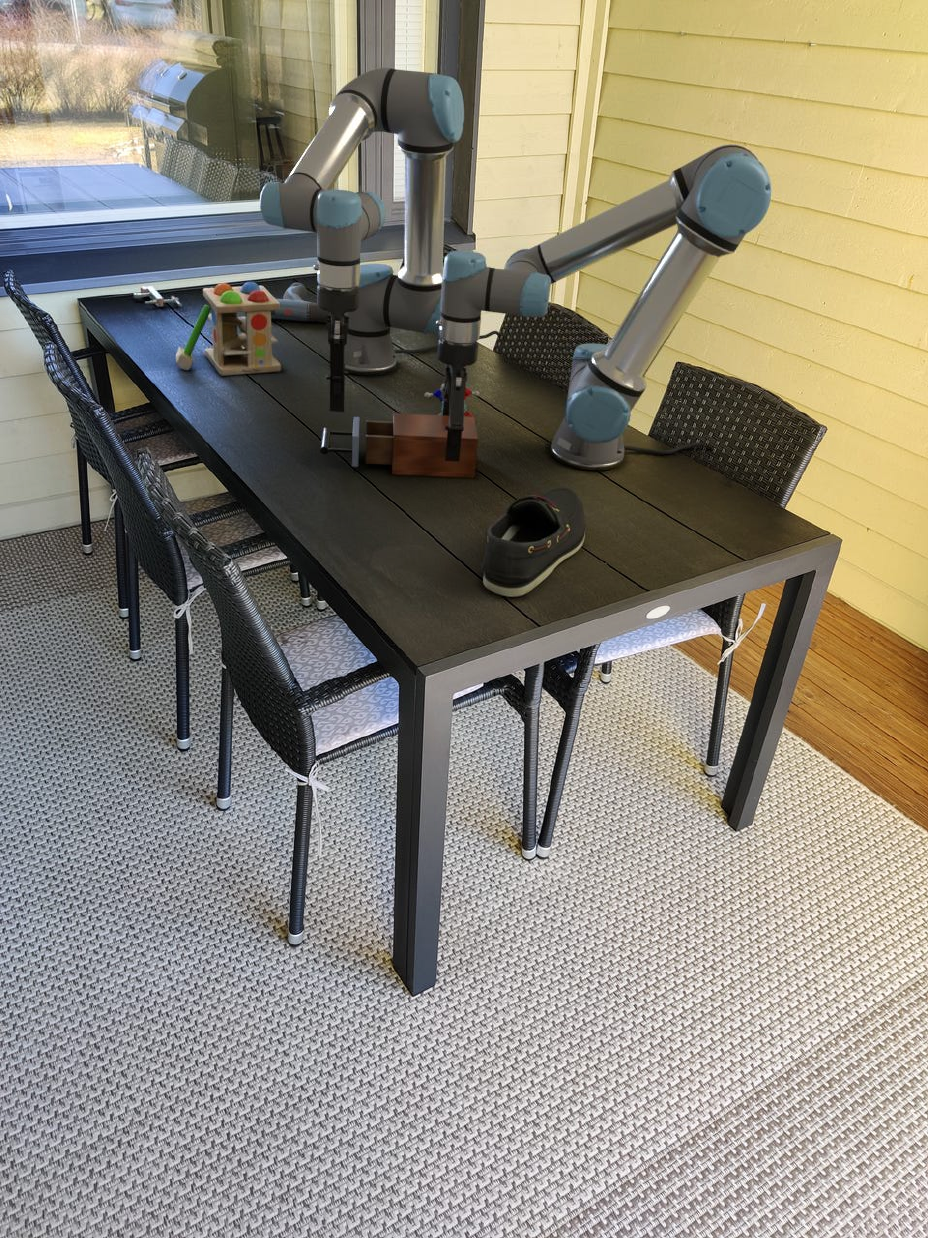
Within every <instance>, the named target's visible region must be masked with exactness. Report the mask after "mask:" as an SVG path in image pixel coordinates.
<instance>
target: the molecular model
mask: <svg viewBox="0 0 928 1238" xmlns="http://www.w3.org/2000/svg"><path fill="white" fill-rule="evenodd" d="M443 388H444V383H442V384H441V385H440V388H439V389H436V390H435V391H434V392H428V391H427V392H425V393H424V398H425V399H430V397H435V398H436V399H438V400H439V402H440V403H441V412H440V413H438V414H437V415H443V402H444V398H443V397H442V396H443V392H444V391H443ZM470 395H471V396H472V395H473V396H474V397H479V396H480V392H479V391H478V390H474V391H471V390H469V389H468V388H465V396H464V417H474V415H472V414H470V412H469V410H467V406H466V404H465V402H466V400H467V397H469V396H470Z"/></svg>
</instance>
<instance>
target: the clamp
mask: <svg viewBox="0 0 928 1238" xmlns="http://www.w3.org/2000/svg"><path fill="white" fill-rule="evenodd" d="M133 297H134V299H143V298H149V299H150V300H149V301H144V304H145V305H147V304H149V305H154V304H155V305H156V307H164V305H165V304H171V303H173V304H177V305H178V307H179V308H180V307H183V303H181V302H180V300H179V298H178V297H175V296H174V295H171V296H170V299H164V297H163V296H162V295H161V294H160V293H159V292H158V291H157V290H156V289H155V288H154V287H153V286H151V285H149V286H140V292H134V293H133Z"/></svg>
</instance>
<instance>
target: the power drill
mask: <svg viewBox="0 0 928 1238" xmlns="http://www.w3.org/2000/svg"><path fill="white" fill-rule="evenodd" d="M307 295H308V290H307V287H306V285H304V284H303V283H301V282H293V283H292V284H291V285H290V286H289V287H288V288H287V289H286V291H285V292H284V294H283V297H282V298H275V299H276V300H277V301H278V302H279V303H280V310H271V319H274V320H275V319H276V320H283V321H294V322H295V321H297V322H327V315H331V312H329V311H325V310H322V309H321V308H319V307H318V305H317V302H313V301H307V300H305V299H306V297H307Z"/></svg>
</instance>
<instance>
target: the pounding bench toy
mask: <svg viewBox="0 0 928 1238" xmlns="http://www.w3.org/2000/svg"><path fill="white" fill-rule="evenodd" d="M202 296H203V298H204V299H205V300H206V301H207V302H208V304H209V305H208V304H204V305H203V307H202V309H201V312H200V313H199V316H198V318H197V320H196V322H195V324H194V327H193V329H192V331H191V332H190V333H191V334H190V336H189V338H188V340H187V343H186V344H185V347H184V348H182V347H180V346H179V347H178V349H177V351H176V354H175V357H174V358H175V362H176V365H177V366H178V368H179V369H182V370H185V371H189V370H190V369H191V367H192V365H193V363H194V356H193V351H194V348H195V347H196V345H197V342H198V340H199V337H200V336H201V333H202V332H203V329H204V326H205V325H206V322H207V320H209V321H210V322H211V336H212V337H211V338H212V339H211V340H212V348H205V349H204V352H205V353H204V355H205V357H206V359H208V361H209V363H210V364H211V365H212V366H213V367H214V369H215V370H216V371H217V372H218V374H219V375H220V376H222V377H223V376H234V375H235V376H236V375H246V374H247V375H250V374H262V373H275V372H281V370H282V364H281V363H280V362H279V360H278V359H277V358H276V357H275V356H274V355H273V348H272V347H273V345H272V344H276V343H278V342H279V341H278V339H277V338H276V337H275V336H274V334H272V318H271V310H280V303H279V302H278V301H277V300H276V299H277V298H276V297H274V296H273V295H272V294H271V293H270V292H269V290H268V289H267V288H266V287H264V285H259V284H257V283H256V282H255V281H247V282H245V283H244V284H243V285H242V286H232V285H230V284H229V283H226V282H221V283H218V284H217V285H216V286H215V287H204V288H203V289H202ZM238 313H244V314H245V315H244V316H238ZM238 329H239V331H240V333H239V334H238Z"/></svg>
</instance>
